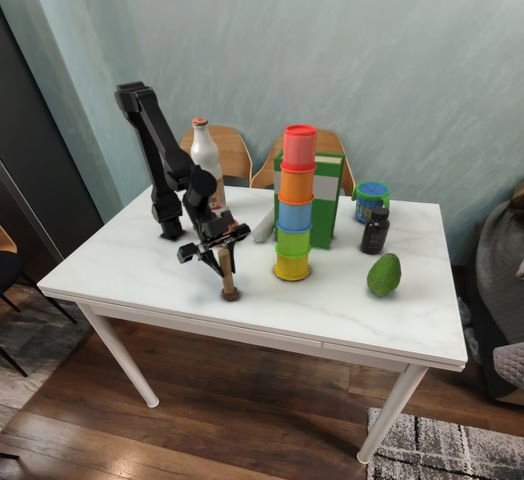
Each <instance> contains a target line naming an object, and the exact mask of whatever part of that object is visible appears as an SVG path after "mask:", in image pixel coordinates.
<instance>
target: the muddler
mask: <svg viewBox="0 0 524 480" xmlns="http://www.w3.org/2000/svg"><path fill="white" fill-rule="evenodd" d="M217 259H218V264H219V266H220V268H221V269H222V271H223V274H224V276H225V278H221V281H222V286H223V288H222V289H221V290H220V292H221V297H222V299H223V300H224V301H228V302H230V301H235V300H236V299H237V298H239V291H238V288H237V287H236V286H235V283H234V282H235V281H234V276H233V275H234V274H233V273H232V268H231V261H230V254H229V250H228V249H223V248H220V249H218V251H217Z"/></svg>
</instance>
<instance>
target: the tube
mask: <svg viewBox="0 0 524 480" xmlns="http://www.w3.org/2000/svg"><path fill="white" fill-rule="evenodd" d="M274 230H275V229H274V207H272V209H270V210H269V212H268V213H267V214H266V215H265V216H264V217H263V219H262V220H261V221H260V222H259V224H257V226H256V227H255V228H254V229H253V230H252V238H253V240H254V241H255V242H256V243H264V241H266V239H267V238H268V237H269V236H270V235H271V233H272V232H273V231H274Z"/></svg>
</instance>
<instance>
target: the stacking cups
mask: <svg viewBox="0 0 524 480" xmlns="http://www.w3.org/2000/svg"><path fill="white" fill-rule="evenodd" d="M317 139H318V132H317V128H316V127H315V126H313V125H309V124H293V125H288V126H286V128H285V131H284V132H283V147H282V149H283V162H282V163H281V164H280V167H281V169H282V171H281V192H280V193H279V195H278V199H279V200H280V204H279V220H278V221H277V227H278V241H277V243H276V244H275V246H274V250H275V252H276V264H275V266H274V268H273V270H274V274H275V275H276V277H278V278H280V279H281V280H284V281H293V282H295V281H300V280H302V279H305V278H306V277H308V275H309V274H310V266H309V253H311V250H312V247H311V246H310V245H309V236H310V229H311V227H312V222H311V208H312V201H313V200H314V194H313V193H312V191H313V179H314V170H315V169H316V164H315V152H317Z"/></svg>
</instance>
